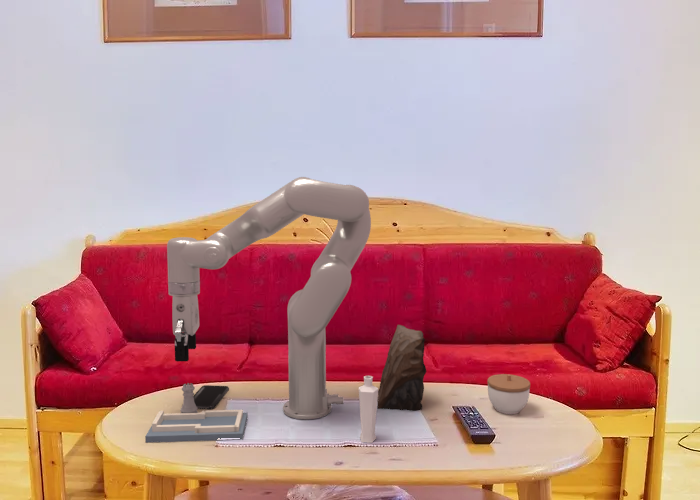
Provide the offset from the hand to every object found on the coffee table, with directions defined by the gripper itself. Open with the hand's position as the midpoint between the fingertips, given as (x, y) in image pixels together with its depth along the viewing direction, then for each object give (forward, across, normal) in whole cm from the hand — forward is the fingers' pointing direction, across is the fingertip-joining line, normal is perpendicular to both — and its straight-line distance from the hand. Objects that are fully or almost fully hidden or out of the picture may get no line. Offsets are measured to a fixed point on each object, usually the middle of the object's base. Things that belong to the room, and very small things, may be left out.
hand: (185, 354), depth 152 cm
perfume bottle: (+16, -17, -44) cm, 50 cm away
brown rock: (+16, +4, -54) cm, 57 cm away
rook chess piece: (+16, 0, 0) cm, 16 cm away
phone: (+16, +11, -3) cm, 20 cm away
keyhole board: (+16, -9, -4) cm, 19 cm away
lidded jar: (+15, -2, -82) cm, 84 cm away
